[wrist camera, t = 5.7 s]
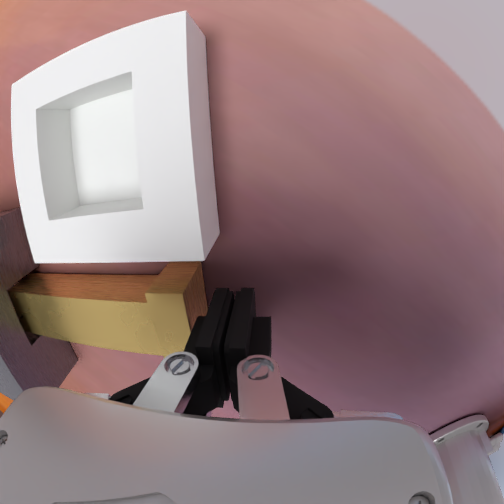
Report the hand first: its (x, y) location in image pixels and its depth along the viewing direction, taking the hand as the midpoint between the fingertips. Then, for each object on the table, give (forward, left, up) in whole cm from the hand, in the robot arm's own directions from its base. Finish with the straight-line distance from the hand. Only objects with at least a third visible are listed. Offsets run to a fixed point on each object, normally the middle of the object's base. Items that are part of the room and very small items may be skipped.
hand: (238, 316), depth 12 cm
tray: (+5, -8, -2) cm, 10 cm away
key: (+8, 0, -1) cm, 8 cm away
